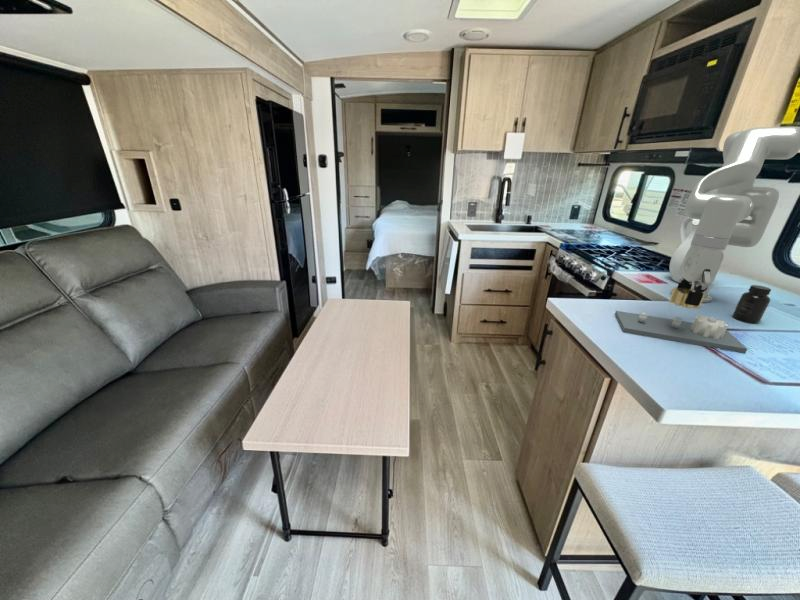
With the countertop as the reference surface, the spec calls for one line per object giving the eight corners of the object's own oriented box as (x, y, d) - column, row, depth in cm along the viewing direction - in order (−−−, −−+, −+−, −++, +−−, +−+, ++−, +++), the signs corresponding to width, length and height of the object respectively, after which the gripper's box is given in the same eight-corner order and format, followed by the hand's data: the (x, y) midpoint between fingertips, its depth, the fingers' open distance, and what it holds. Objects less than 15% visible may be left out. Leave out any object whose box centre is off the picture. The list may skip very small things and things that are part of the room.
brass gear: (665, 297, 104) (669, 285, 103) (694, 301, 102) (699, 289, 100) (673, 305, 98) (678, 293, 96) (704, 310, 95) (710, 297, 94)
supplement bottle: (764, 325, 110) (782, 292, 105) (741, 322, 111) (757, 290, 106) (749, 316, 116) (764, 284, 111) (726, 314, 117) (741, 282, 112)
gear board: (614, 314, 115) (619, 298, 112) (722, 331, 105) (730, 314, 102) (623, 332, 103) (628, 314, 100) (745, 353, 93) (754, 334, 90)
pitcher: (721, 290, 140) (750, 224, 129) (677, 287, 142) (702, 222, 131) (686, 272, 161) (709, 215, 150) (649, 270, 164) (668, 213, 153)
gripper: (681, 235, 101) (662, 288, 108) (706, 246, 86) (681, 308, 93) (711, 238, 98) (689, 292, 105) (742, 250, 84) (714, 313, 90)
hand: (686, 299), depth 99 cm, fingers closed on brass gear, 7 cm apart
